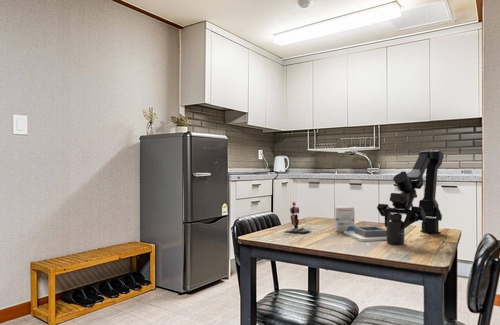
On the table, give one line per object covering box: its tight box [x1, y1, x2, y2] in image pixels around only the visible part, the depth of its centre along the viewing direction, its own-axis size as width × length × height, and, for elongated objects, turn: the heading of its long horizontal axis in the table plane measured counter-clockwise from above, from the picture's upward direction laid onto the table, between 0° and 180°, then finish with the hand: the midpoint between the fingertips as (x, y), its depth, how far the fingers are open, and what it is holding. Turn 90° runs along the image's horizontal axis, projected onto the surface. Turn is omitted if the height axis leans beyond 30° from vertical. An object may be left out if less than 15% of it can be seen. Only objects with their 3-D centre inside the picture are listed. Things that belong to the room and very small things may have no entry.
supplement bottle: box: [386, 213, 406, 246], centre depth 144 cm, size 7×7×12 cm
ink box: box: [334, 206, 356, 233], centre depth 173 cm, size 9×5×12 cm, turn 84°
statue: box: [283, 201, 312, 234], centre depth 172 cm, size 11×9×15 cm
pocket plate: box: [343, 225, 387, 242], centre depth 159 cm, size 18×18×4 cm
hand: (393, 227), depth 143 cm, fingers closed on supplement bottle, 7 cm apart
